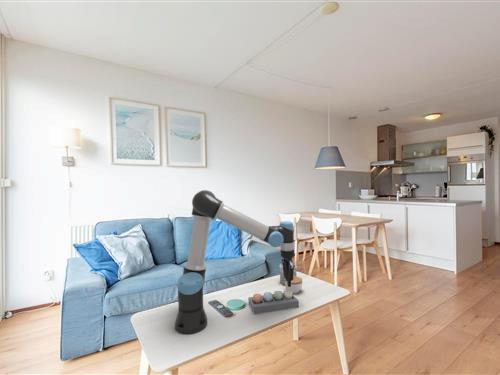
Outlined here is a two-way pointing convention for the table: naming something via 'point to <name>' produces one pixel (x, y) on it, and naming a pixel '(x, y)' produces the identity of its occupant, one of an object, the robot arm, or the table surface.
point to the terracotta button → (257, 298)
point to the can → (282, 278)
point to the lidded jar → (295, 284)
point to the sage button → (278, 295)
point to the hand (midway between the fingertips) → (288, 291)
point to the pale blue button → (267, 297)
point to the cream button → (288, 295)
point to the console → (273, 304)
